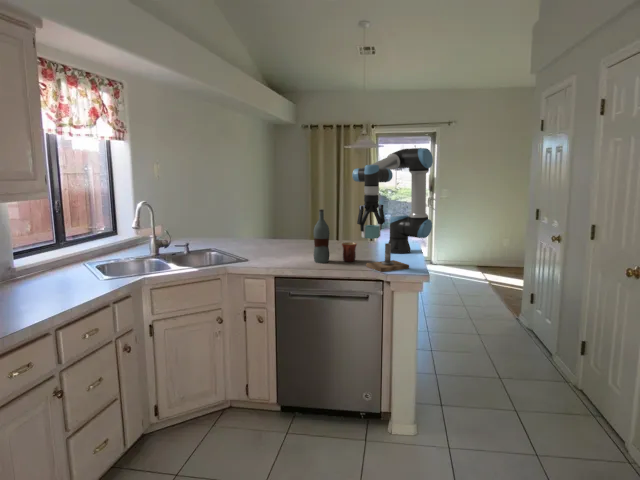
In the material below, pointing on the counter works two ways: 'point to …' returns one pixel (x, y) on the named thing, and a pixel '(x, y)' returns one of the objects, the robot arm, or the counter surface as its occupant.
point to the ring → (372, 231)
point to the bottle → (321, 240)
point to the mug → (349, 251)
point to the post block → (387, 262)
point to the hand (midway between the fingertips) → (371, 236)
